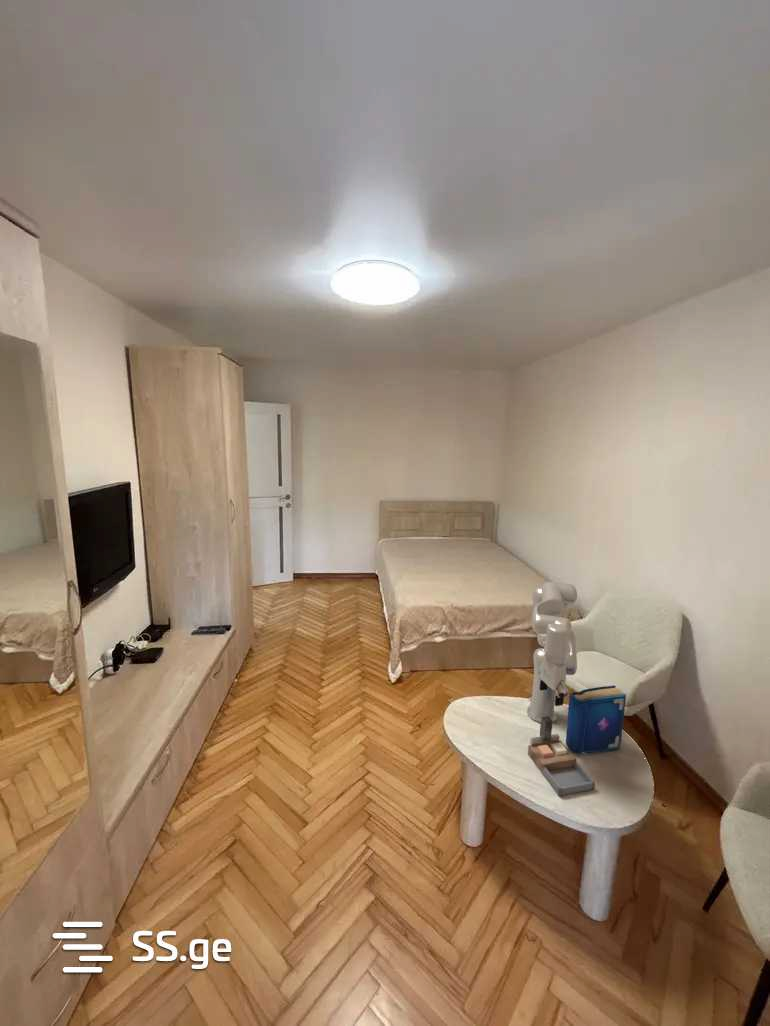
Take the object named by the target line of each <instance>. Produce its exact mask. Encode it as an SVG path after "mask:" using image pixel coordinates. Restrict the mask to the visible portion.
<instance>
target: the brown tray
mask: <svg viewBox="0 0 770 1026" xmlns="http://www.w3.org/2000/svg"><path fill="white" fill-rule="evenodd" d="M555 743H561V744H562V745H563V746H564V747H565V748H566V749H567V754H561V755H557V754H556V753H555V752H554V750H553V749H552V748H551V744H555ZM543 745H547V746H548V747H549V748H550V749H551V751H552V752H553V756H549V757H542V755H541V754H540V753H539V751H538V750H537V747H538V746H543ZM527 747H528V748H527V755H528V757H529V758H530V760H531V761H532V762H533V764H534V765H535V766H536V767H537V769H538V770H539V772H540V773H541V774H542V775H543V767H546V769H547V770H548V771H549V772H551V771H557V770H562V769H568V768H573V767H574V763H575V761H577V759H578V758H576V756H575V754H574V753H572V752H571V751H570V750H569V749H568V747H567V745H566V744H564V742H563V741H562V740H560V739H559V741H556V742H549V743H543V744H537V745H531V744H528V746H527Z"/></svg>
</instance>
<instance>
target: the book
mask: <svg viewBox="0 0 770 1026" xmlns="http://www.w3.org/2000/svg"><path fill="white" fill-rule="evenodd" d="M568 698H569V699H568V709H567V711H568V712H567V720H566V721H567V722H566V724H567V725H566V735H565V746H566V747H567V748H568V750H569V751H570V752H571V753H572V754H573V755H581V754H589V755H591V754H597V753H599V754H601V753H606V752H611V751H616V750H620V749H621V744H622V735H623V727H624V726H623V725H624V717H625V708H626V702H627V701H626V699H627V694H626V693H623V691H622V690H621V689H620V688H617V686H616V685H608V686H607V685H606V686H598V687H592V688H586V689H582V690H581V691H579V692H577V691H574V692H571V693H570V692H569V696H568Z"/></svg>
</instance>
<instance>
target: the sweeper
mask: <svg viewBox="0 0 770 1026" xmlns="http://www.w3.org/2000/svg"><path fill="white" fill-rule="evenodd" d="M553 724H554V723H553V721H552V720H551V719H550V718H549V716H545V717H541V723H540V727H539V728H540V729H539V736H536V737H531V738H530V740H529V741H530V742H529V743H530V744H529V745H537V744H543V743H549V742H556V741H559V740H560V737H561V736H560V735H559V734H558V733H555V734H553V733H552V732H553V731H552V730H553Z"/></svg>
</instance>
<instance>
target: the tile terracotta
mask: <svg viewBox="0 0 770 1026" xmlns="http://www.w3.org/2000/svg"><path fill="white" fill-rule="evenodd" d="M537 750H538V751H539V753H540V754H541V755H542V757H549V756H553V752H552V751H551V749H550V748H549V747H548V746H547V745H543V746H538V747H537Z"/></svg>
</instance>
